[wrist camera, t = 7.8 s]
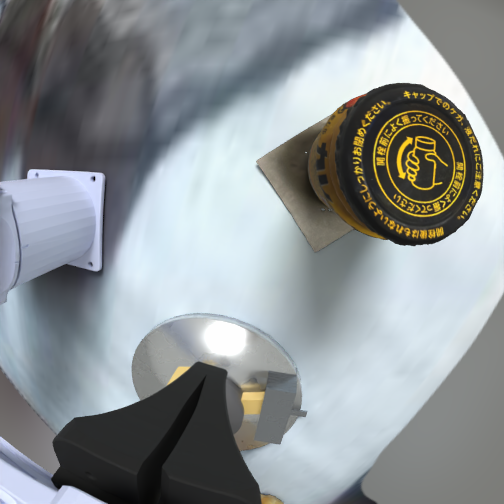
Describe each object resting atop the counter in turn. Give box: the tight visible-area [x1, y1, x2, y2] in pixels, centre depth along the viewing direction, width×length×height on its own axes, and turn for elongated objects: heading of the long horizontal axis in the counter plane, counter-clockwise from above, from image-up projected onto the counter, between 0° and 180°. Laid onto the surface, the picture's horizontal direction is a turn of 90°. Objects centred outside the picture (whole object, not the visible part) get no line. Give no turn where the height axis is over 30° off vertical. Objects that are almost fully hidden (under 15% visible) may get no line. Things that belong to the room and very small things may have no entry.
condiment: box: [256, 83, 483, 252], centre depth 14 cm, size 7×8×12 cm
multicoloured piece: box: [167, 367, 265, 435], centre depth 21 cm, size 8×9×5 cm
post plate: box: [132, 313, 307, 451], centre depth 23 cm, size 16×15×3 cm
